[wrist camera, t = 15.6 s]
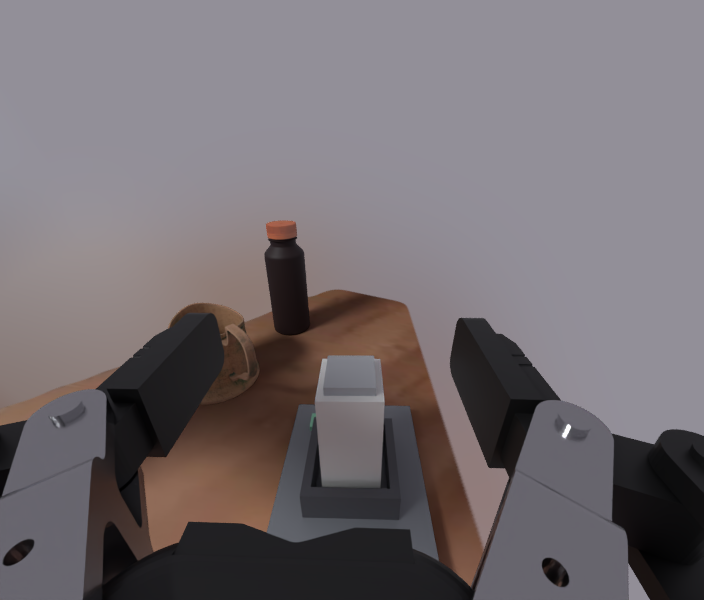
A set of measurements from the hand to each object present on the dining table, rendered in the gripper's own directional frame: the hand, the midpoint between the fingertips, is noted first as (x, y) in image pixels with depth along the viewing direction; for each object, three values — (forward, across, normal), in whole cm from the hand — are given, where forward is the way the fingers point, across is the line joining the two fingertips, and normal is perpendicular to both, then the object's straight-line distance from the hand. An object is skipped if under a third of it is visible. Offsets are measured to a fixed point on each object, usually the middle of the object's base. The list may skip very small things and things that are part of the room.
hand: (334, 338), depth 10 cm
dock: (+10, 0, +25) cm, 27 cm away
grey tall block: (+10, 0, +23) cm, 25 cm away
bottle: (+41, +12, +26) cm, 50 cm away
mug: (+25, +18, +25) cm, 40 cm away
